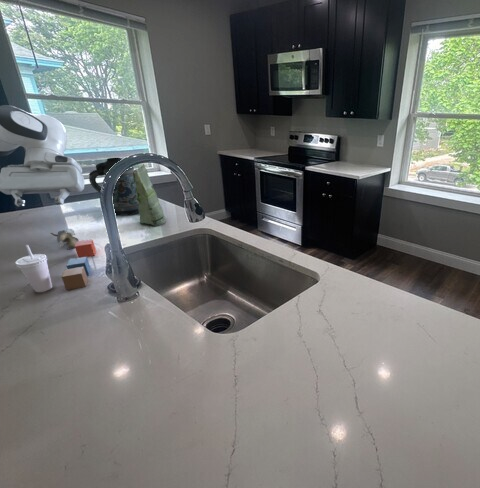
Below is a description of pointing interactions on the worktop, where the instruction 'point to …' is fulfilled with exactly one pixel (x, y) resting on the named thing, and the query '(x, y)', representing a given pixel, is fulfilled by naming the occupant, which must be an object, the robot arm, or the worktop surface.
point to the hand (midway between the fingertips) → (39, 204)
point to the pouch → (147, 198)
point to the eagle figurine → (67, 238)
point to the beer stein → (119, 188)
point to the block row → (79, 265)
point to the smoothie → (35, 270)
